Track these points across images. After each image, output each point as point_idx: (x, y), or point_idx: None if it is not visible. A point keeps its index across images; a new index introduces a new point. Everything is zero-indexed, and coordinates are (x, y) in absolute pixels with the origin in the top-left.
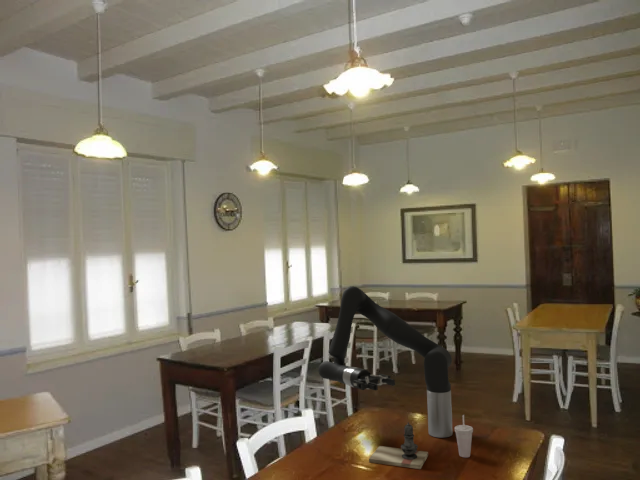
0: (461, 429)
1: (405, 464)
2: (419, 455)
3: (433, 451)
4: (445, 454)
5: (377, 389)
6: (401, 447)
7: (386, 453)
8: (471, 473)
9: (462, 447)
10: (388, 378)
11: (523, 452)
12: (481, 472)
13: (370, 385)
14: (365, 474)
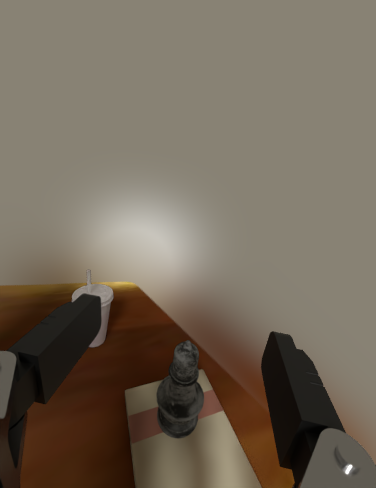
0: (103, 294)
1: (218, 401)
2: (156, 397)
3: (93, 398)
4: (103, 367)
5: (264, 359)
6: (201, 408)
7: None
8: (162, 313)
9: (107, 322)
10: (48, 335)
11: (55, 289)
12: (152, 306)
13: (324, 395)
14: None
